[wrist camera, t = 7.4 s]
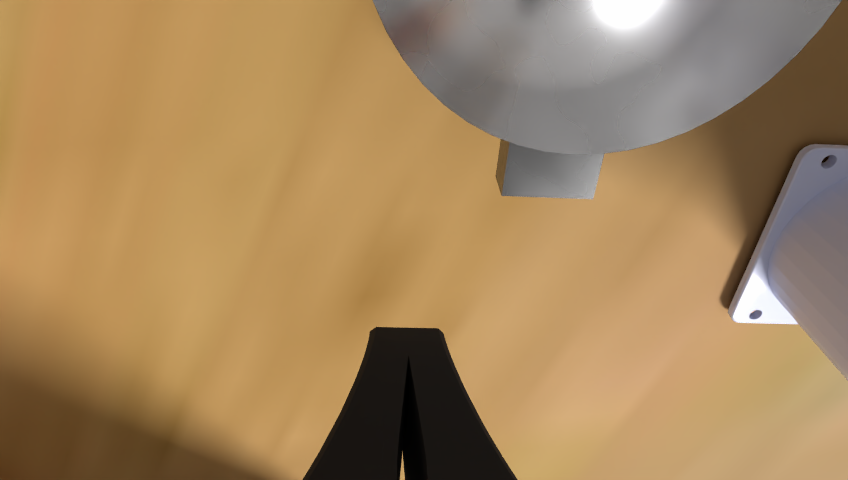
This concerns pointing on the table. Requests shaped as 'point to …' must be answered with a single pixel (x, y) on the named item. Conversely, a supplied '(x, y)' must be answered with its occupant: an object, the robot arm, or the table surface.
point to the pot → (546, 173)
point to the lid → (597, 63)
